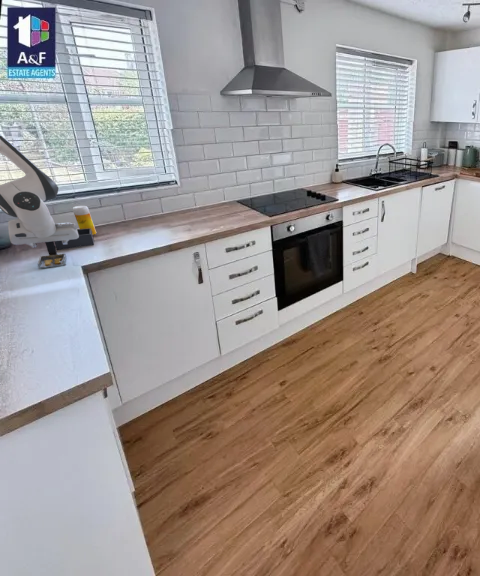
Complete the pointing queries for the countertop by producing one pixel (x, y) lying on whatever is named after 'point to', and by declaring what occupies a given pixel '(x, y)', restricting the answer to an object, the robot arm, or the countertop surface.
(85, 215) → the glass of beer
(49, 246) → the grey square piece
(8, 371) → the countertop surface
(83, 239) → the bin
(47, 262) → the key
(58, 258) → the key
